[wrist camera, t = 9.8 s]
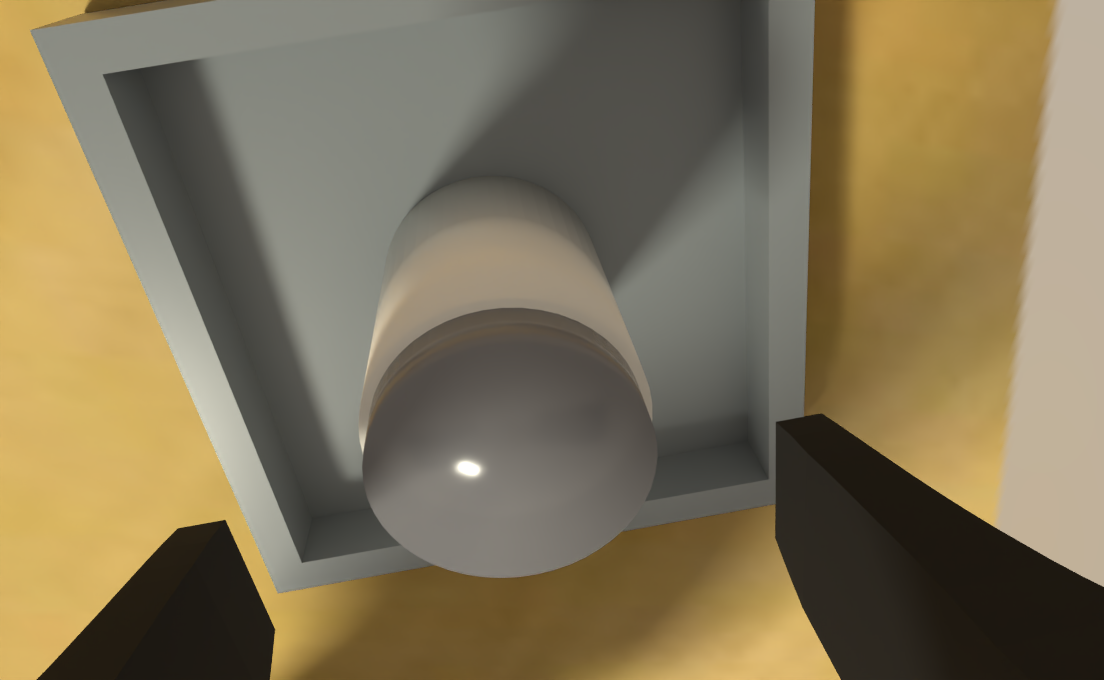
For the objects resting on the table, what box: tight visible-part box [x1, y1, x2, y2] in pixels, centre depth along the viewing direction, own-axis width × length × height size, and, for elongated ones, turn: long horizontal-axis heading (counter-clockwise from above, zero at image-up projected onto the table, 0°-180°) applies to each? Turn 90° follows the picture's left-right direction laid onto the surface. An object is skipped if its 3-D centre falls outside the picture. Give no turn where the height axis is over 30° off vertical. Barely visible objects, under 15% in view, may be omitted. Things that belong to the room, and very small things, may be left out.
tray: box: [30, 0, 815, 593], centre depth 17 cm, size 13×13×2 cm
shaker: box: [358, 176, 657, 578], centre depth 14 cm, size 4×4×6 cm
